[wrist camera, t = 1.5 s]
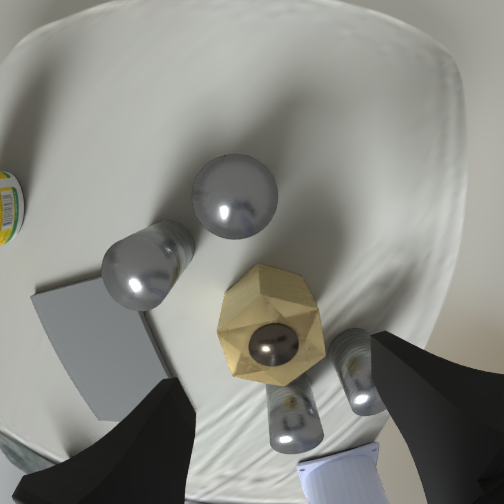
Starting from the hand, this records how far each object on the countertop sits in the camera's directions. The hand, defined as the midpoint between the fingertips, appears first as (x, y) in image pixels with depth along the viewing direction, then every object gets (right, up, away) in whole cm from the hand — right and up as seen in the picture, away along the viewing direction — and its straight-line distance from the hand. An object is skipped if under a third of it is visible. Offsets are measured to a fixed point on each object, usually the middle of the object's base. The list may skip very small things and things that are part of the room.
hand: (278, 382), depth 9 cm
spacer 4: (+6, -2, +8) cm, 10 cm away
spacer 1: (-6, +5, +6) cm, 10 cm away
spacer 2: (-2, +8, +5) cm, 9 cm away
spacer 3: (+2, -4, +8) cm, 10 cm away
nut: (0, +2, +7) cm, 7 cm away
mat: (-11, -3, +8) cm, 14 cm away
